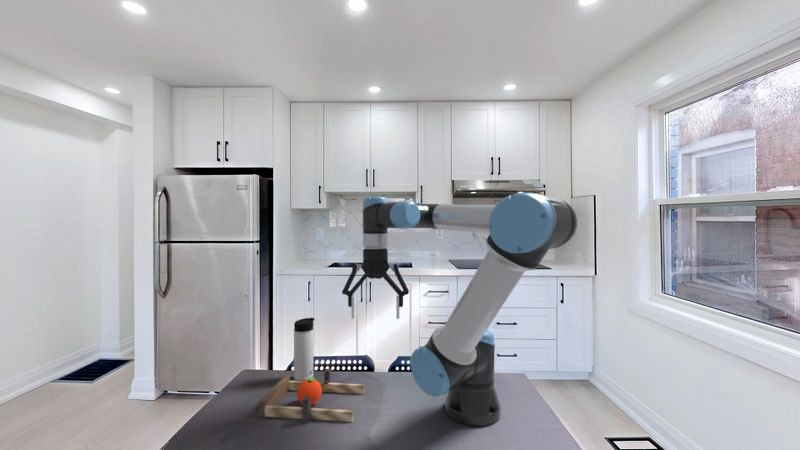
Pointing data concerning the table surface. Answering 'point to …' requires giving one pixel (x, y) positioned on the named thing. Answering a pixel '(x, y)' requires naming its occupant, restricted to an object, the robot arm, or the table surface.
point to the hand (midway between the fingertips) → (375, 317)
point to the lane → (307, 401)
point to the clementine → (309, 390)
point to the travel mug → (303, 349)
